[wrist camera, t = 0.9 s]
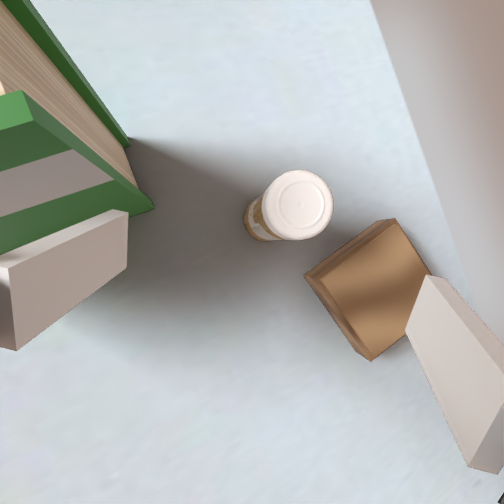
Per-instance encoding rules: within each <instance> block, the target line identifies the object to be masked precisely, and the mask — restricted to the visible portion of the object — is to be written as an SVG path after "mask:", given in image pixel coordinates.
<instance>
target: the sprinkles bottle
mask: <svg viewBox="0 0 504 504" xmlns="http://www.w3.org/2000/svg"><path fill="white" fill-rule="evenodd" d="M333 206H334V205H333V197H332V194H331V191H330V189H329V187H328V185H327V184H326V183H325V181H324V180H323V179H322V178H320V177H319V176H318V175H316V174H314V173H312V172H309V171H305V170H293V171H289V172H286V173H284V174H282V175H281V176H279V177H278V178H277V179H275V180H274V181H273V182H272V183H271V184H270V185H269V187H268V188H267V190H266V191H265V192H264V193H263V194H262V195H261V196H259V197H258V198H257V199H255V200H254V201H253V202H252V203H250V204H249V206H248V207H247V209H246V212H245V215H244V222H245V226H246V229H247V231H248V232H249V233H250V235H251V236H253V237H254V238H256V239H258V240H260V241H271V240H285V239H287V240H304V239H309V238H312V237H314V236H316V235H318V234H319V233H320V232H322V231H323V230H324V229H325V227H326V226H327V225H328V223H329V221H330V219H331V217H332V213H333Z"/></svg>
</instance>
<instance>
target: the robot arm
mask: <svg viewBox="0 0 504 504" xmlns="http://www.w3.org/2000/svg"><path fill="white" fill-rule="evenodd" d="M127 241H128V212H124V211H119V210H114V209H112V210H109V211H107V212H104V213H102V214H99V215H97V216H95V217H92V218H90V219H87V220H85V221H82V222H80V223H78V224H75V225H73V226H70V227H68V228H65V229H63V230H60V231H58V232H56V233H53V234H51V235H48V236H46V237H43V238H41V239H39V240H36V241H34V242H31V243H29V244H26V245H22V246H19V247H17V248H15V249H12V250H10V251H9V252H5V253H2V254H0V347H2V348H6V349H10V350H14V351H18V350H19V349H20V348H21V347H23V346H24V345H25V344H27V343H28V342H29V341H31V340H32V339H33V338H35V337H36V336H37V335H39V334H40V333H41V332H43V331H44V330H45V329H47V328H48V327H49V326H50V325H52V324H53V323H54V322H56V321H57V320H58V319H60V318H61V317H62V316H64V315H65V314H66V313H68V312H69V311H70V310H72V309H73V308H74V307H76V306H77V305H78V304H79V303H81V302H82V301H83V300H85V299H86V298H87V297H89V296H90V295H91V294H93V293H94V292H95V291H97V290H98V289H99V288H101V287H102V286H103V285H105V284H106V283H107V282H108V281H110V280H111V279H112V278H114V277H115V276H116V275H118V274H119V273H120V272H122V271H123V270H124V269H126V268H127ZM405 332H406V334H407V336H408V338H409V340H410V343H411V345H412V347H413V349H414V351H415V354H416V356H417V358H418V360H419V362H420V364H421V367H422V369H423V371H424V373H425V375H426V377H427V380H428V382H429V384H430V386H431V388H432V390H433V393H434V395H435V397H436V399H437V401H438V403H439V406H440V408H441V410H442V412H443V414H444V417H445V419H446V421H447V423H448V425H449V427H450V430H451V432H452V434H453V436H454V438H455V440H456V443H457V445H458V447H459V449H460V451H461V453H462V456H463V458H464V460H465V462H466V464H467V466H468V467H470V468H474V469H478V470H482V471H486V472H490V473H493V474H497V475H498V473H499V472H500V470H501V468H502V467H503V465H504V345H503V343H501V341H500V340H499V339H498V338H497V337H496V336H495V334H494V333H493V332H492V331H491V330H490V329H489V328H488V327H487V325H486V324H485V323H484V322H483V321H482V320H481V319H480V317H479V316H478V315H477V314H476V313H475V312H474V311H473V310H472V308H471V307H470V306H469V305H468V304H467V303H466V302H465V301H464V299H463V298H462V297H461V296H460V295H459V294H458V293H457V291H456V290H455V289H454V288H453V287H452V286H451V285H450V284H449V282H448V281H447V280H446V279H445V278H441V277H436V276H431V275H426V276H425V278H424V281H423V284H422V286H421V289H420V291H419V294H418V297H417V299H416V302H415V305H414V307H413V310H412V312H411V315H410V318H409V320H408V323H407V325H406V328H405ZM498 503H500V504H504V493H503V495H502V496H501V498H500V499H499V501H498Z"/></svg>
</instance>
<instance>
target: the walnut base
mask: <svg viewBox="0 0 504 504" xmlns="http://www.w3.org/2000/svg"><path fill="white" fill-rule="evenodd" d="M426 275H431V273H430V271H429V270H428V268H427V267H426V265H425V264H424V262H423V261H422V259H421V258H420V256H419V254H418V253H417V251H416V250H415V248H414V247H413V245H412V244H411V242H410V241H409V239H408V237H407V236H406V234H405V233H404V231H403V230H402V228H401V227H400V225H399V223H398V222H397V220H396V219H395V218H393V219H386V220H380V221H377V222H375V223H374V224H373V225H371V226H370V227H369V228H367V229H366V230H365V231H363V232H362V233H360V234H359V235H358V236H356V237H355V238H354V239H352V240H351V241H350V242H348V243H347V244H345V245H344V246H343V247H341V248H340V249H339V250H337V251H336V252H335V253H333V254H332V255H330V256H329V257H328V258H326V259H325V260H324V261H322V262H321V263H320V264H318V265H317V266H315V267H314V268H313V269H311V270H310V271H309V272H307V273H306V274H305V275H304V277H305V278H306V280H307V281H308V283H309V284H310V286H311V287H312V289H313V290H314V291H315V293H316V294H317V296H318V297H319V299H320V300H321V302H322V303H323V305H324V306H325V307H326V309H327V310H328V312H329V313H330V315H331V316H332V318H333V319H334V321H335V322H336V323H337V325H338V326H339V328H340V329H341V331H342V332H343V334H344V335H345V337H346V338H347V339H348V341H349V342H350V344H351V345H352V347H353V348H354V350H355V351H356V352H357V353H359V354H360V355H362V356H363V357H365V358H366V359H367V360H369V361H370V362H371V361H372V360H374V359H375V358H376V357H378V356H379V355H380V354H381V353H383V352H384V351H385V350H386V349H388V348H389V347H390V346H392V345H393V344H394V343H395V342H397V341H398V340H399V339H400V338H402V337H403V336H404V335H406V332H405V328H406V325H407V323H408V320H409V318H410V315H411V312H412V310H413V307H414V305H415V302H416V299H417V297H418V294H419V291H420V289H421V286H422V284H423V281H424V278H425V276H426ZM431 276H432V275H431Z"/></svg>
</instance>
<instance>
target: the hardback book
mask: <svg viewBox="0 0 504 504" xmlns="http://www.w3.org/2000/svg"><path fill="white" fill-rule="evenodd" d="M128 146H131V145H130V143H129V140H128V137H127V135H126V134H125V133H124V131H123V130H122V129H121V127H120V126H119V124H118V123H117V122H116V120H115V119H114V117H113V116H112V115H111V113H110V112H109V110H108V109H107V108H106V106H105V105H104V103H103V102H102V101H101V99H100V98H99V96H98V95H97V94H96V92H95V91H94V89H93V88H92V87H91V85H90V84H89V82H88V81H87V80H86V78H85V77H84V75H83V74H82V73H81V71H80V70H79V68H78V67H77V66H76V64H75V63H74V62H73V60H72V59H71V57H70V56H69V55H68V53H67V52H66V50H65V49H64V48H63V46H62V45H61V43H60V42H59V41H58V39H57V38H56V36H55V35H54V34H53V32H52V31H51V29H50V28H49V27H48V25H47V24H46V22H45V21H44V20H43V18H42V17H41V15H40V14H39V13H38V11H37V10H36V8H35V7H34V6H33V4H32V3H31V1H30V0H0V254H2V253H5V252H9V251H10V250H12V249H15V248H17V247H19V246H22V245H26V244H29V243H31V242H34V241H36V240H39V239H41V238H43V237H46V236H48V235H51V234H53V233H56V232H58V231H60V230H63V229H65V228H68V227H70V226H73V225H75V224H78V223H80V222H82V221H85V220H87V219H90V218H92V217H95V216H97V215H99V214H102V213H104V212H107V211H109V210H112V209H114V210H119V211H124V212H128V218H129V217H132V216H135V215H138V214H141V213H144V212H147V211H150V210H152V209H155V208H154V206H153V203H152V200H151V199H150V198H149V197H147V196H146V195H145V194H144V193H143V192H141V191H140V190H139V189H138V186H137V183H136V181H135V178H134V175H133V173H132V170H131V168H130V165H129V162H128V160H127V157H126V154H125V152H124V149H123V148H124V147H128Z"/></svg>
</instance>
